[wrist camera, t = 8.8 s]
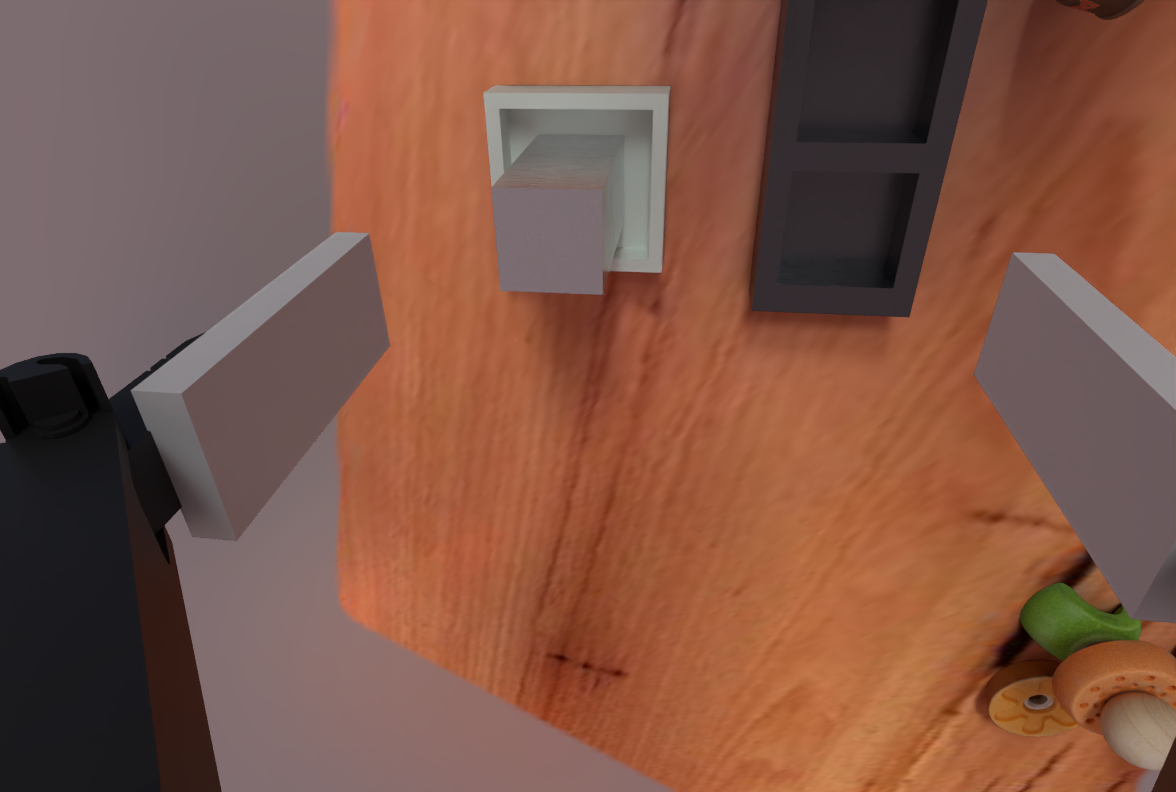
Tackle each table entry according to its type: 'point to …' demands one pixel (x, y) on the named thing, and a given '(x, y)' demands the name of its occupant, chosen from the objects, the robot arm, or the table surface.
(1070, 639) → the wooden stacking toy
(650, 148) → the tray
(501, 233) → the grey rectangular block
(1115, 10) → the tin
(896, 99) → the dark rectangular frame
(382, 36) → the table surface
